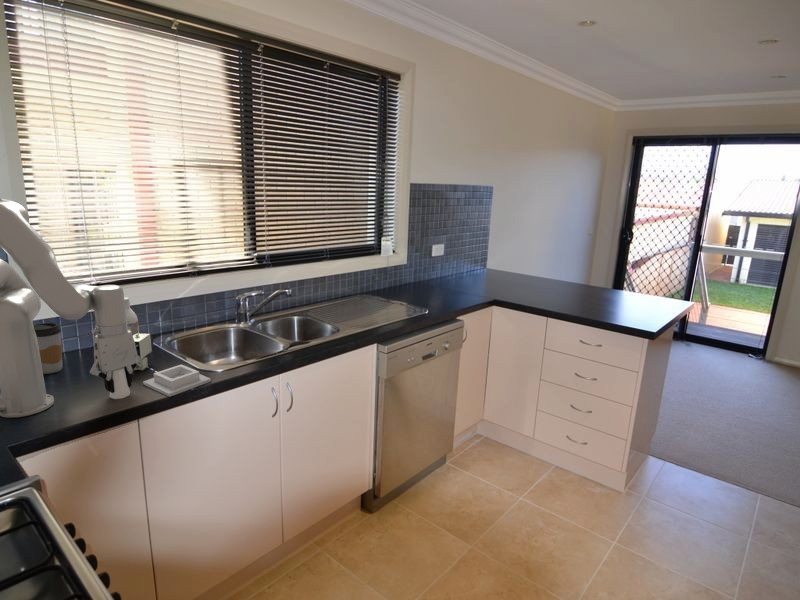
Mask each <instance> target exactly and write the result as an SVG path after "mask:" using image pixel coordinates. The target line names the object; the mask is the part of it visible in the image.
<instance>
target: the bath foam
mask: <svg viewBox="0 0 800 600" xmlns="http://www.w3.org/2000/svg"><path fill="white" fill-rule="evenodd" d="M124 301H125V310H126V319H127V328H128V330H130V331H131V332H132V335H135V334H136V333H140V327H139V319H138V318H139V317H138V316H137V314H136V313H135V311H133V309H132V308H131V304H130V303H131V302H130V297H127V296H124Z"/></svg>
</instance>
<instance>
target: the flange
mask: <svg viewBox="0 0 800 600" xmlns="http://www.w3.org/2000/svg"><path fill="white" fill-rule="evenodd" d="M211 380H212V379H211V378H210V377H209V376H208V377H207V376H205V375H203V374H201V373H200V371H199V370H196V369H194V368H192V367H189V366H186V365H185V364H184V365H183V364H178V365H175V366H172V367H169V368H165V369H164V370H160V371H156V372H154V373H153V377H152V378H149V379H145V380H143V381H142V385H144V386H146V387H147V388H149V389H152V390H153V391H156V392H158V393H160V394H163V396H167V397H169V398H171V397H172V396H176V395H179V394H180V393H185V392H186V391H189V390H191V389H194V388H196V387H200V386H202V385H206V384H208V383H210V382H211Z"/></svg>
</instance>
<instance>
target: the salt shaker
mask: <svg viewBox="0 0 800 600" xmlns="http://www.w3.org/2000/svg"><path fill="white" fill-rule="evenodd" d="M111 379H113V382H114V390H115V392H113V393H111V392H109V398H110V399H113V400H118V399H124V398H127V397H129V396H130V394H131V390H130V387H128V383H127V378H126V373H125V369H124V367H123V368H119V369H116V370H112V373H111Z"/></svg>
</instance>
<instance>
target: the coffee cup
mask: <svg viewBox="0 0 800 600" xmlns="http://www.w3.org/2000/svg"><path fill="white" fill-rule="evenodd" d="M33 327H34V330H35V333H36V336H37V341H38V346H39V352H40V358H41V364H42V371H43V375H44V374H45V375H46V374H53V373H57V372H60V371H62V369H63V366H64V365H63V348H62V347H63V346H62V336H61V335H62V333H61V332H62V330H61V327H60V326H59V324H58V323H56V322H42V323H38V324H37V323H36V324H33Z"/></svg>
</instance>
